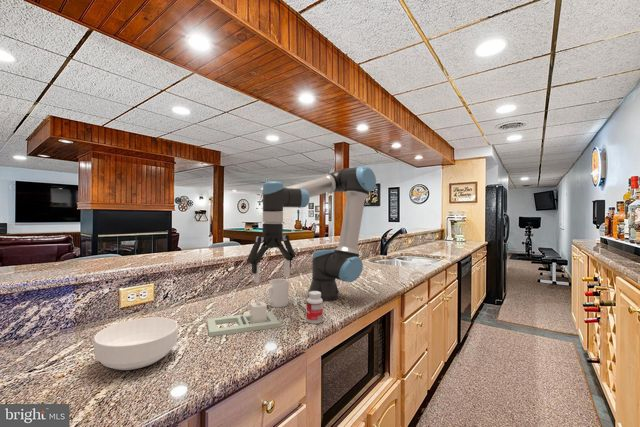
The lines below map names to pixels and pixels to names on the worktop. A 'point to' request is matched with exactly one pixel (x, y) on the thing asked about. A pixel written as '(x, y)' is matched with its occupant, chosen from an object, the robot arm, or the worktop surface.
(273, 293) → the mug
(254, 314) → the block
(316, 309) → the pill bottle
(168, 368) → the worktop surface
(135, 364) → the bowl
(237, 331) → the faceplate
